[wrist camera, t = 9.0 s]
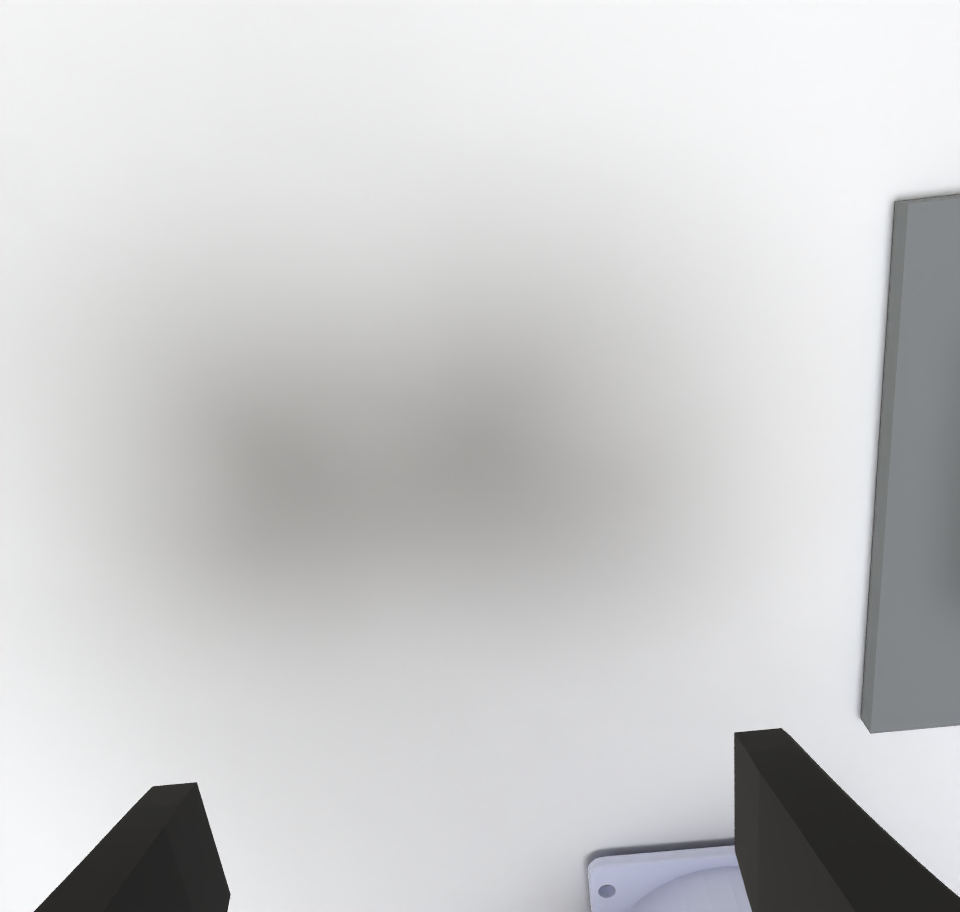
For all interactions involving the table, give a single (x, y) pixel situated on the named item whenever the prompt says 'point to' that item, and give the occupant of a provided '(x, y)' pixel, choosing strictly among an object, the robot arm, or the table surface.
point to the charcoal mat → (918, 482)
